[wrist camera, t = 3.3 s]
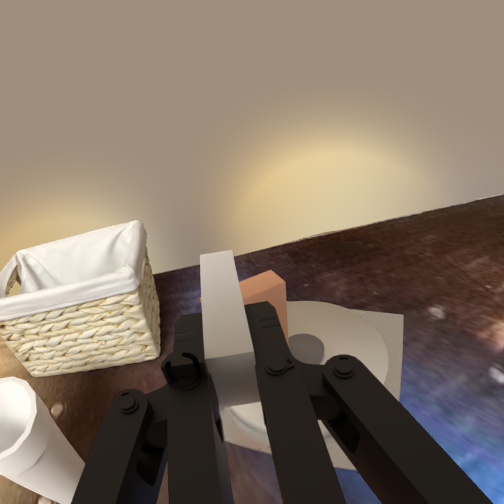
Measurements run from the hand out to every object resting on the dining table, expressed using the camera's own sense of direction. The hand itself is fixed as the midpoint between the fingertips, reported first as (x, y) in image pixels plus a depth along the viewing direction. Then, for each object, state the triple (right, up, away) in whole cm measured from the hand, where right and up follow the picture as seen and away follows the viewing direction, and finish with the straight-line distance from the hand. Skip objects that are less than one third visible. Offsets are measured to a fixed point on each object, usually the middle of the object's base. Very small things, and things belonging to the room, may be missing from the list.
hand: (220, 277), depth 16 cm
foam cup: (-18, -24, +8) cm, 31 cm away
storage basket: (-23, -13, +29) cm, 39 cm away
